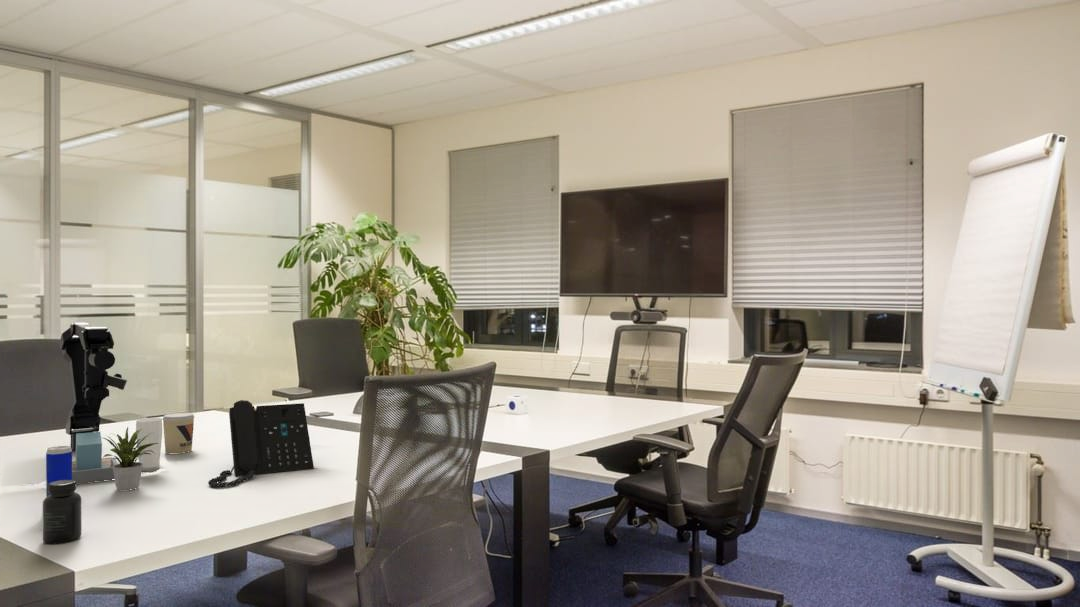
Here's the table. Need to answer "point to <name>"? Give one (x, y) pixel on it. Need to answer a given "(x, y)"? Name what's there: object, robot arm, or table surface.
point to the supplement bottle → (62, 513)
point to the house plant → (128, 461)
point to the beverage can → (58, 465)
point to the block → (88, 450)
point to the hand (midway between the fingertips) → (95, 417)
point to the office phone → (267, 441)
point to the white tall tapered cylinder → (146, 428)
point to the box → (94, 474)
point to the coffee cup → (178, 432)
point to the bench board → (103, 462)
